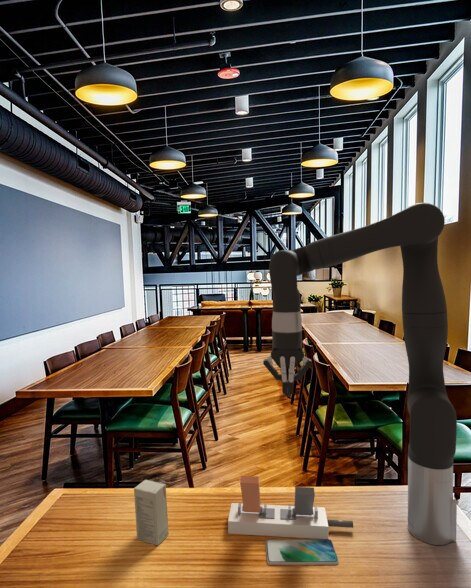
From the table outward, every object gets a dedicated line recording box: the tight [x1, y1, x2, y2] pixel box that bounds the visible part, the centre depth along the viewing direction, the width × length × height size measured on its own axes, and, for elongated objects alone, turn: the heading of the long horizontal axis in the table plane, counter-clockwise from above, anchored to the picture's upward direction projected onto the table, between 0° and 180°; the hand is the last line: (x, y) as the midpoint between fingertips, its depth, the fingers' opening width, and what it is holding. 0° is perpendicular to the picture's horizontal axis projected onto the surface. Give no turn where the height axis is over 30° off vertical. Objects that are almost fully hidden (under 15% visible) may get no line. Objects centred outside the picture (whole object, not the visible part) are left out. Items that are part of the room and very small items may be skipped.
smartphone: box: [265, 538, 340, 566], centre depth 83 cm, size 7×1×15 cm
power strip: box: [227, 502, 354, 539], centre depth 91 cm, size 29×7×5 cm, turn 84°
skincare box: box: [133, 479, 169, 546], centre depth 88 cm, size 6×4×12 cm
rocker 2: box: [293, 486, 316, 516], centre depth 86 cm, size 5×2×14 cm
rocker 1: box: [239, 475, 263, 513], centre depth 88 cm, size 5×2×14 cm
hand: (287, 395), depth 98 cm, fingers closed
